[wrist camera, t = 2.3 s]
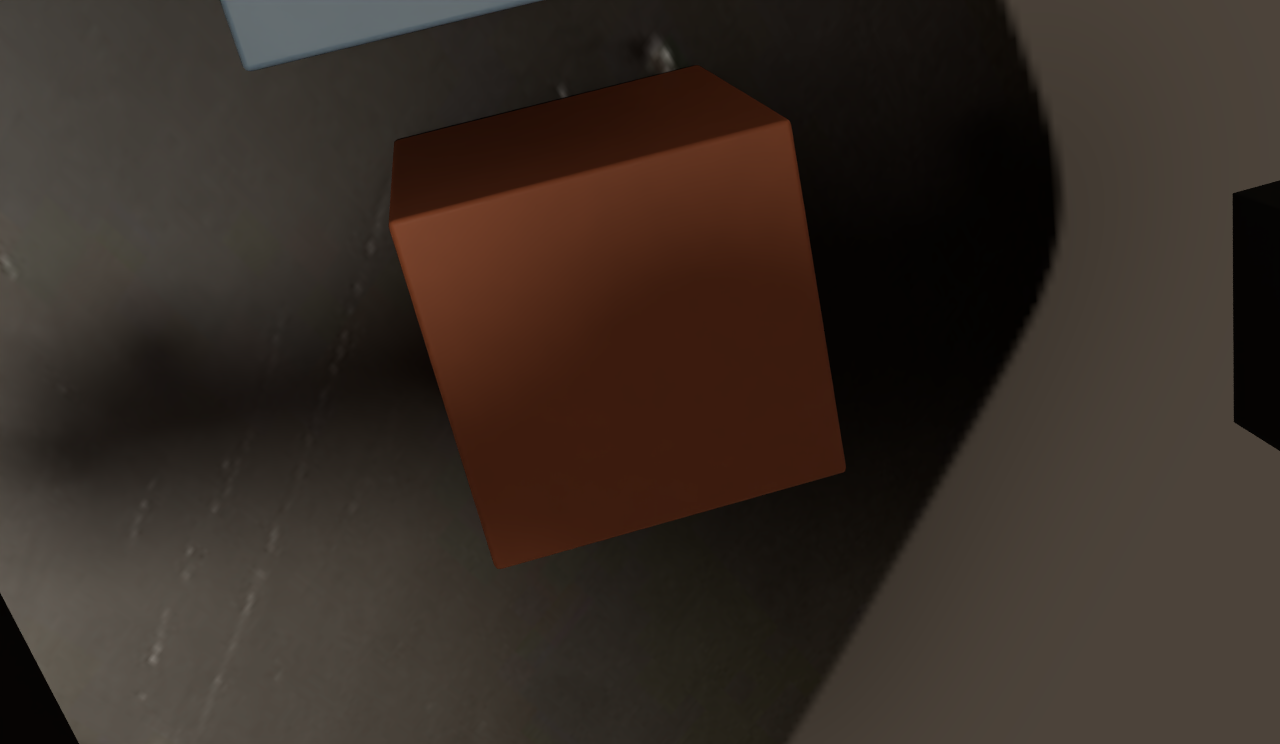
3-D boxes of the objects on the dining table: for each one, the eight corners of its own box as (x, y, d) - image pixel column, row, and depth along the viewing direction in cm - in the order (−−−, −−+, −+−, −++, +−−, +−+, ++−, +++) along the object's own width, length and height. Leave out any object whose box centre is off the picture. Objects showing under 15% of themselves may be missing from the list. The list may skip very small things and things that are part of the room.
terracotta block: (699, 63, 19) (791, 118, 14) (752, 345, 21) (848, 473, 16) (392, 140, 18) (387, 223, 14) (477, 420, 20) (496, 572, 16)
